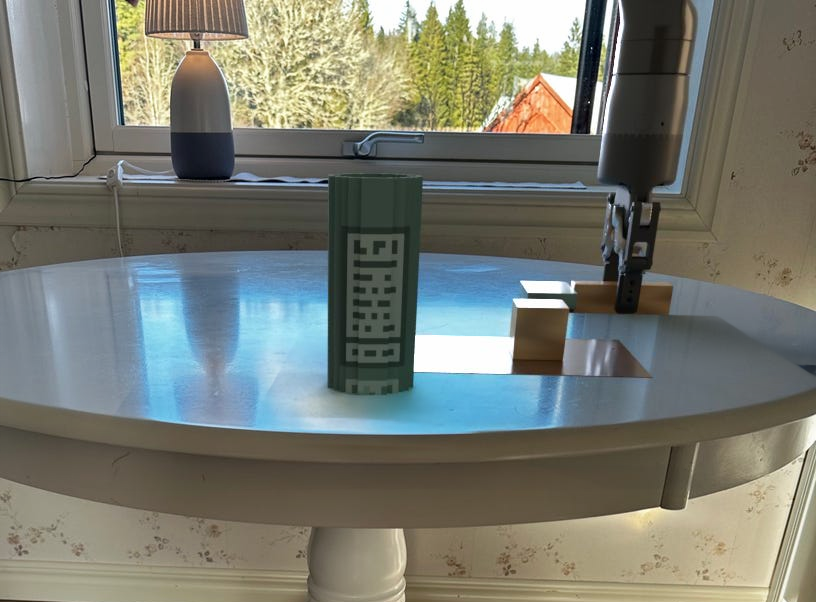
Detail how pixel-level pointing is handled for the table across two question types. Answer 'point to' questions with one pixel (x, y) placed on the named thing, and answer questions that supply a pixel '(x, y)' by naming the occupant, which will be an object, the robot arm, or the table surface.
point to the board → (497, 359)
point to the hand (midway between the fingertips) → (617, 306)
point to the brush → (599, 295)
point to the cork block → (538, 329)
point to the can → (373, 281)
